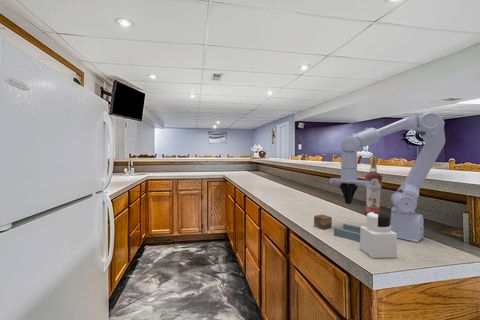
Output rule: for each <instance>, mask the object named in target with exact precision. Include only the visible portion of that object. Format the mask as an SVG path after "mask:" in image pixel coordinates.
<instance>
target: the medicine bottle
mask: <svg viewBox="0 0 480 320" xmlns="http://www.w3.org/2000/svg"><path fill="white" fill-rule="evenodd" d="M359 227H360V242H359V248H360V249H359V250H361V251H363V252H364V253H365V254H367V255H368V256H369V257H371V258H372V259H396V258H397V256H398V255H397V254H398V253H397V251H398V249H397V248H398V238H397V233H395V232H393V231H391V215H389V214H387V213H384V212H381V211H380V212H370V213H368V214H366V226H365V225H364V226H363V225H361V226H359Z"/></svg>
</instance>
